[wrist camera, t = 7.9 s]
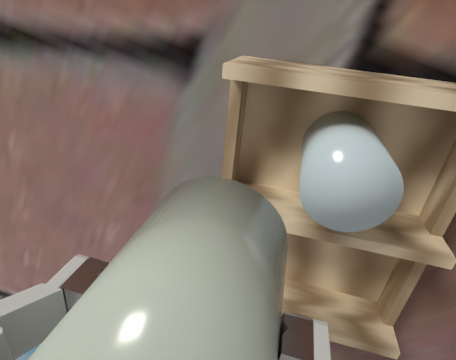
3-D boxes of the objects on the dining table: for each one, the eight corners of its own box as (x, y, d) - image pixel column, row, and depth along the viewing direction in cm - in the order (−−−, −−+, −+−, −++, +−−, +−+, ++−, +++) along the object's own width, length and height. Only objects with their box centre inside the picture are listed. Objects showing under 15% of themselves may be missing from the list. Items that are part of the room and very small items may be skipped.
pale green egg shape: (302, 194, 12) (294, 485, 4) (273, 301, 15) (238, 586, 7) (157, 163, 13) (-59, 357, 5) (157, 269, 16) (17, 491, 8)
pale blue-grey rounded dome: (386, 117, 25) (420, 156, 18) (363, 182, 28) (383, 240, 21) (310, 106, 27) (311, 137, 19) (295, 170, 30) (291, 220, 22)
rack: (486, 86, 24) (550, 107, 18) (381, 301, 36) (396, 359, 29) (242, 55, 27) (223, 63, 21) (219, 261, 39) (202, 305, 33)
